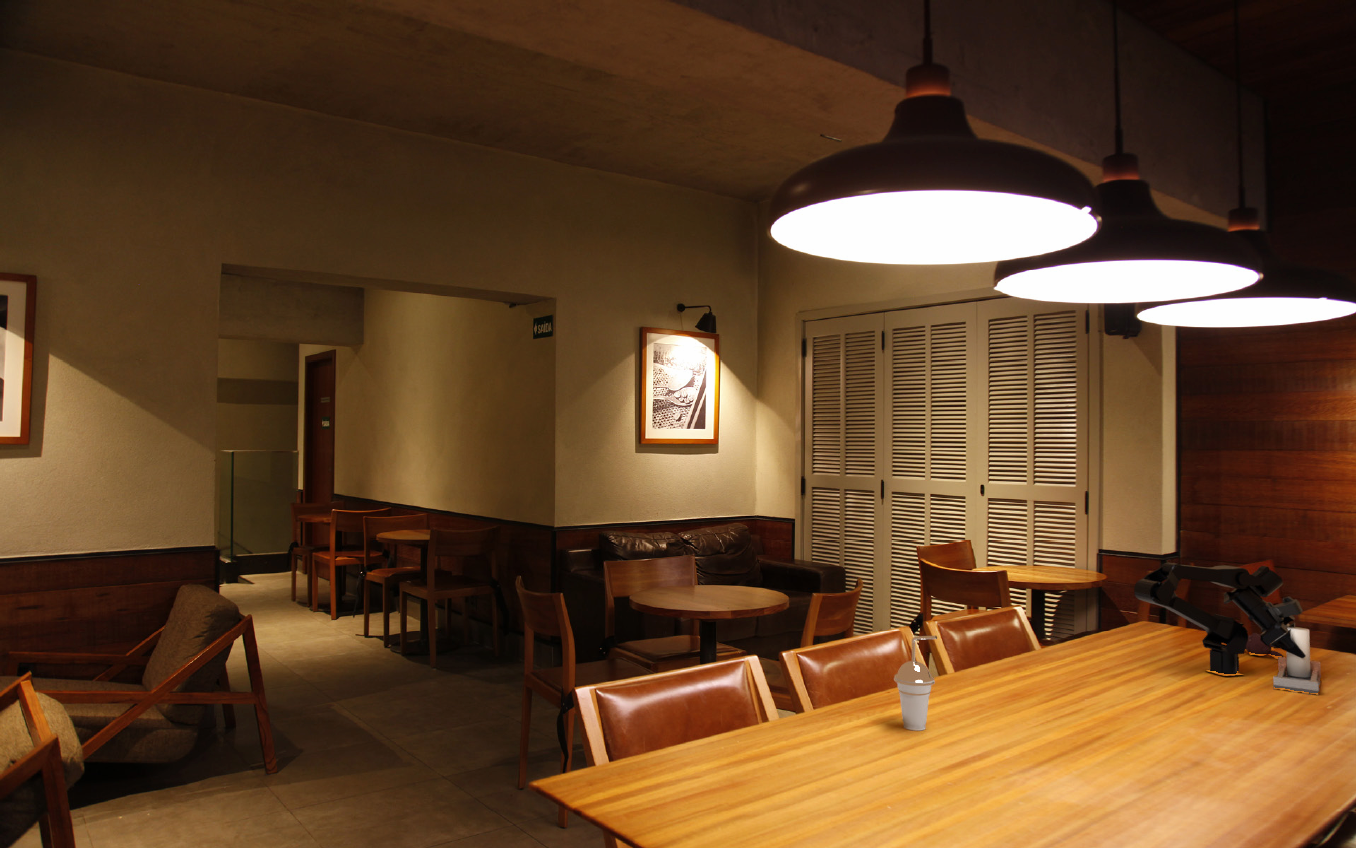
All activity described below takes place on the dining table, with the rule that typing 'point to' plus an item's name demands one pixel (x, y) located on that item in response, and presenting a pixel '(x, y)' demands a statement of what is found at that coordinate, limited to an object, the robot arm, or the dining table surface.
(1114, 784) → the dining table surface
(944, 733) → the dining table surface
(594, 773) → the dining table surface
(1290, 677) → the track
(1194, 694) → the dining table surface
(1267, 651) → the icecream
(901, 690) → the cup with straw
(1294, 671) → the white cylinder
